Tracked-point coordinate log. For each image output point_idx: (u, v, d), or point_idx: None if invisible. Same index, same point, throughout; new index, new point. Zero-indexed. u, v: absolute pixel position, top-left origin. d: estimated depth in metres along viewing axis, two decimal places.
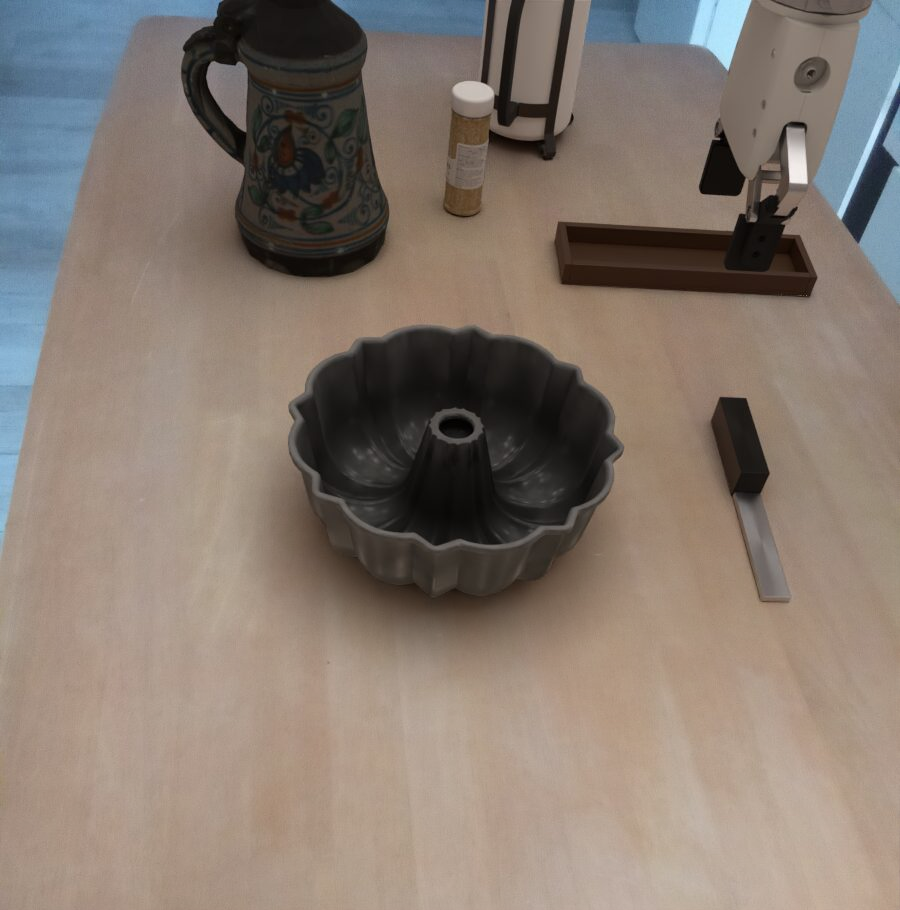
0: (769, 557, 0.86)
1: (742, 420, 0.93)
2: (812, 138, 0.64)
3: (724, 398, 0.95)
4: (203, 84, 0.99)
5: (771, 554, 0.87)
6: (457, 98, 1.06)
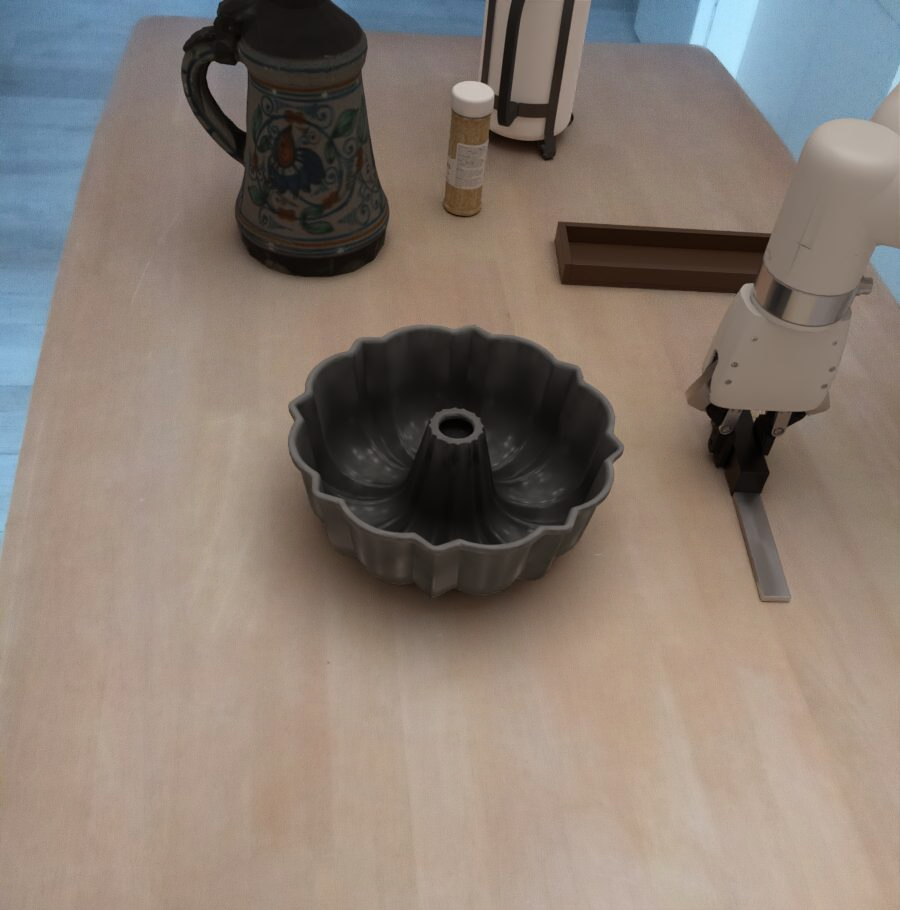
0: (769, 557, 0.86)
1: (742, 420, 0.93)
2: None
3: None
4: (203, 84, 0.99)
5: (771, 554, 0.87)
6: (457, 98, 1.06)
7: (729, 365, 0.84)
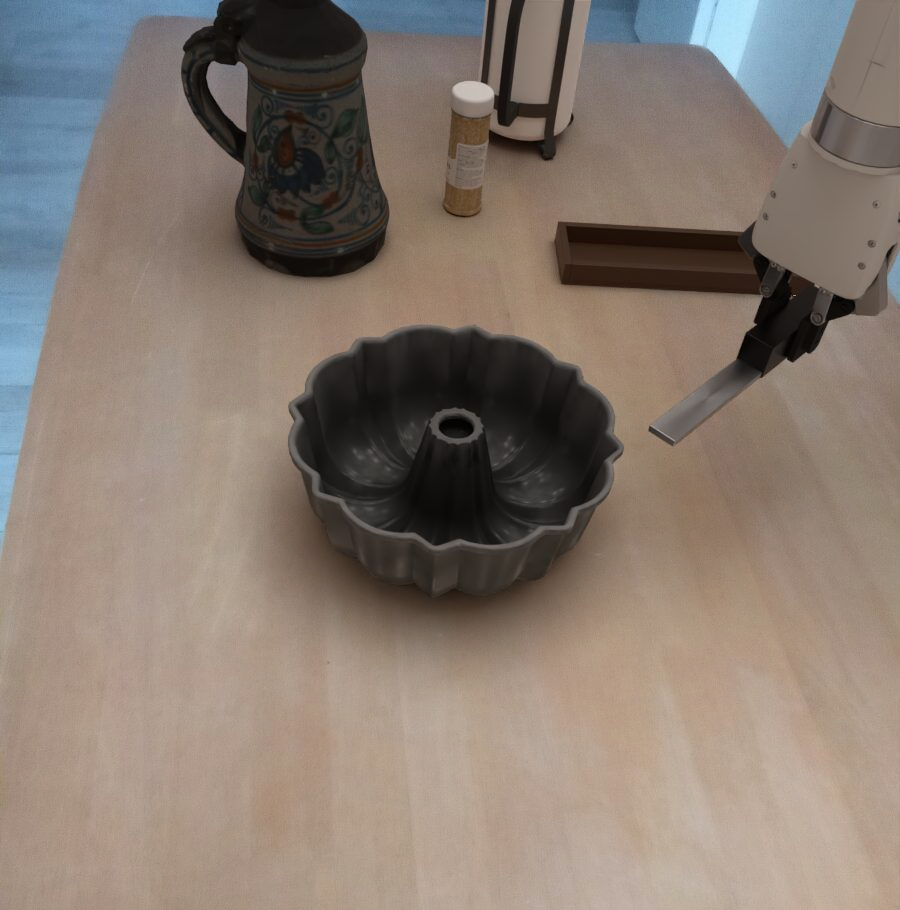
0: (698, 409, 0.78)
1: (806, 307, 0.83)
2: (897, 249, 0.75)
3: (813, 287, 0.85)
4: (203, 84, 0.99)
5: (703, 409, 0.78)
6: (457, 98, 1.06)
7: (769, 194, 0.76)
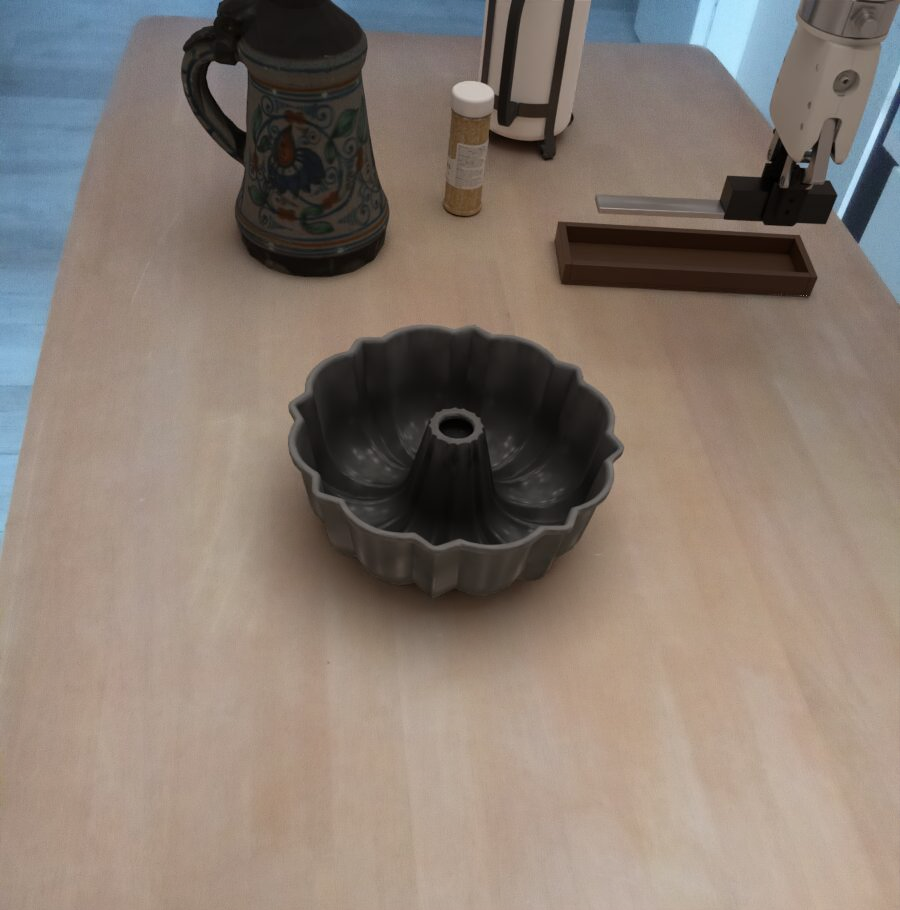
0: (643, 204, 0.95)
1: None
2: (845, 130, 0.85)
3: (829, 182, 0.96)
4: (203, 84, 0.99)
5: (647, 206, 0.95)
6: (457, 98, 1.06)
7: None
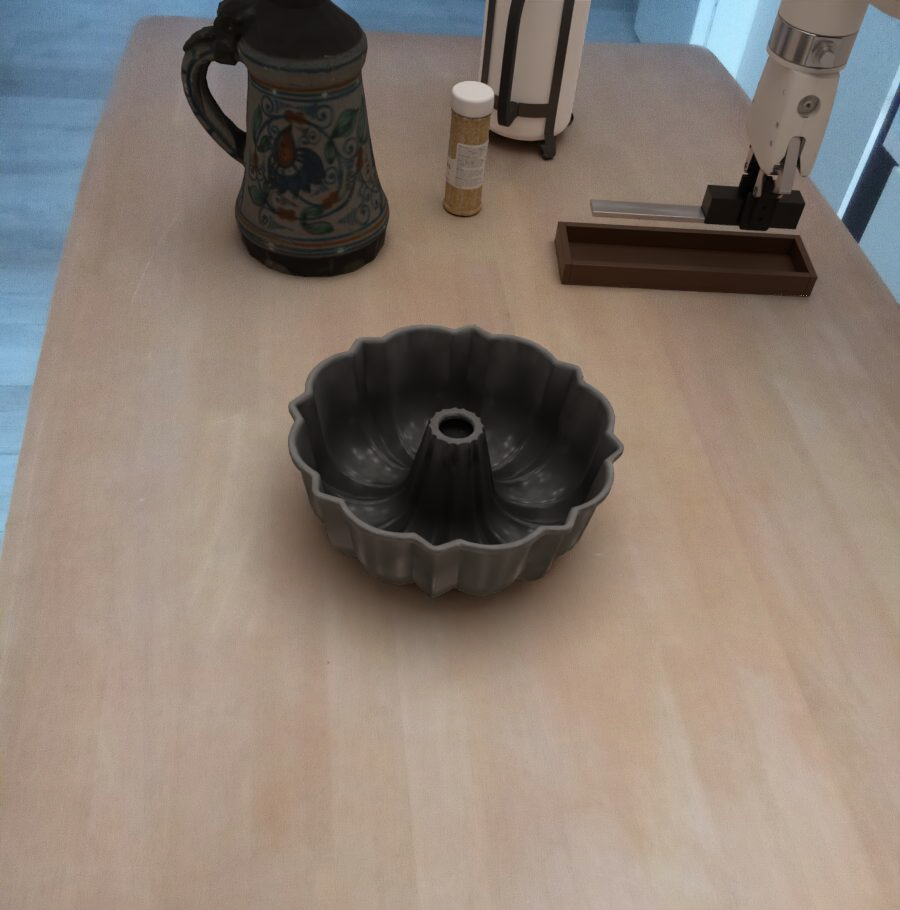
0: (632, 209, 1.07)
1: None
2: (809, 147, 0.97)
3: (798, 192, 1.07)
4: (203, 84, 0.99)
5: (636, 210, 1.07)
6: (457, 98, 1.06)
7: (758, 83, 1.02)
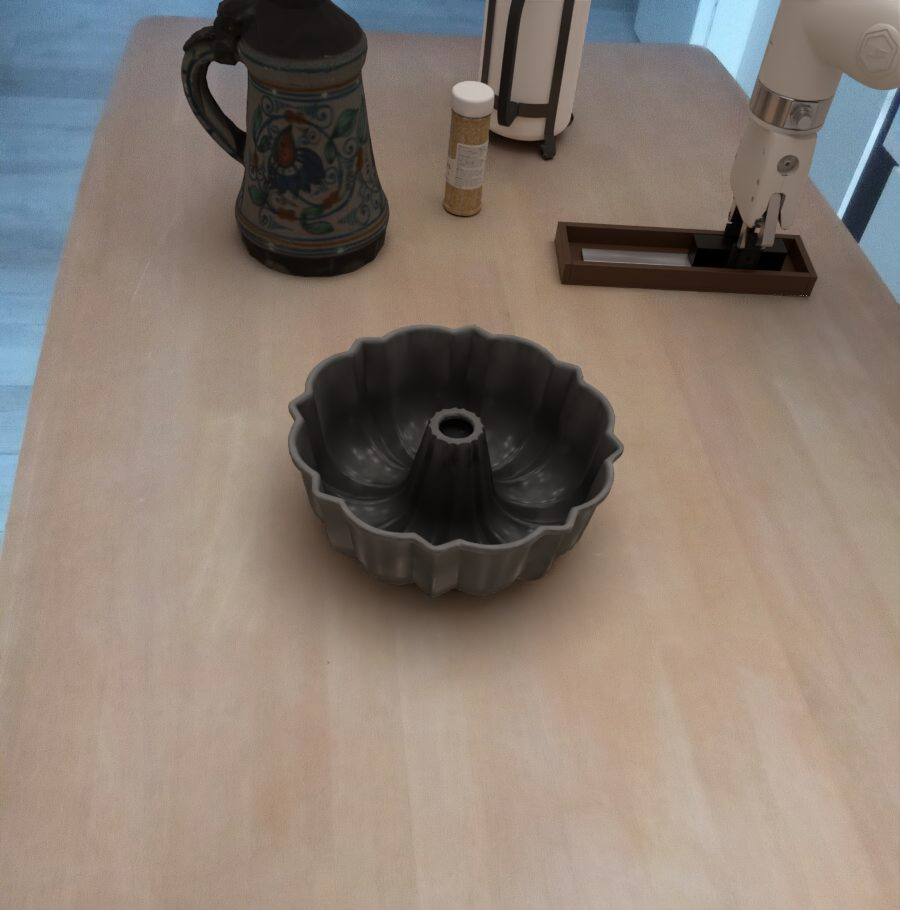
0: (621, 258, 1.12)
1: None
2: (789, 202, 1.02)
3: (781, 241, 1.12)
4: (203, 84, 0.99)
5: (625, 259, 1.11)
6: (457, 98, 1.06)
7: None
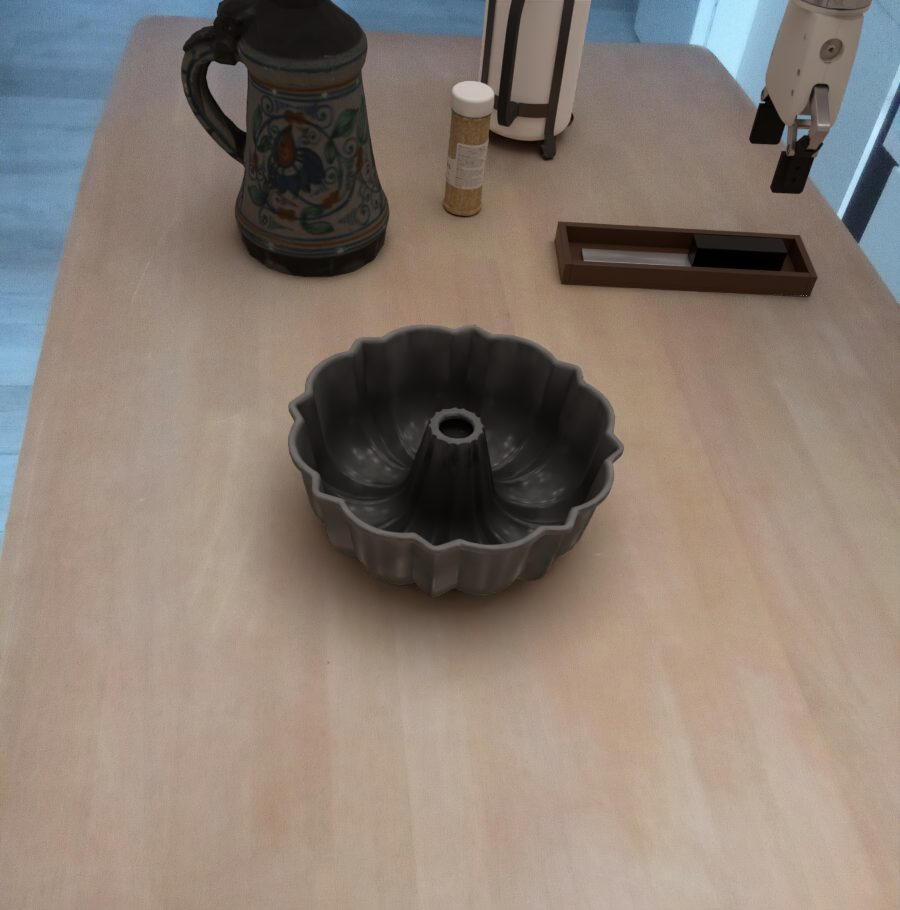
0: (621, 258, 1.12)
1: (757, 245, 1.11)
2: (832, 95, 0.93)
3: (781, 241, 1.12)
4: (203, 84, 0.99)
5: (625, 259, 1.11)
6: (457, 98, 1.06)
7: (777, 34, 0.98)
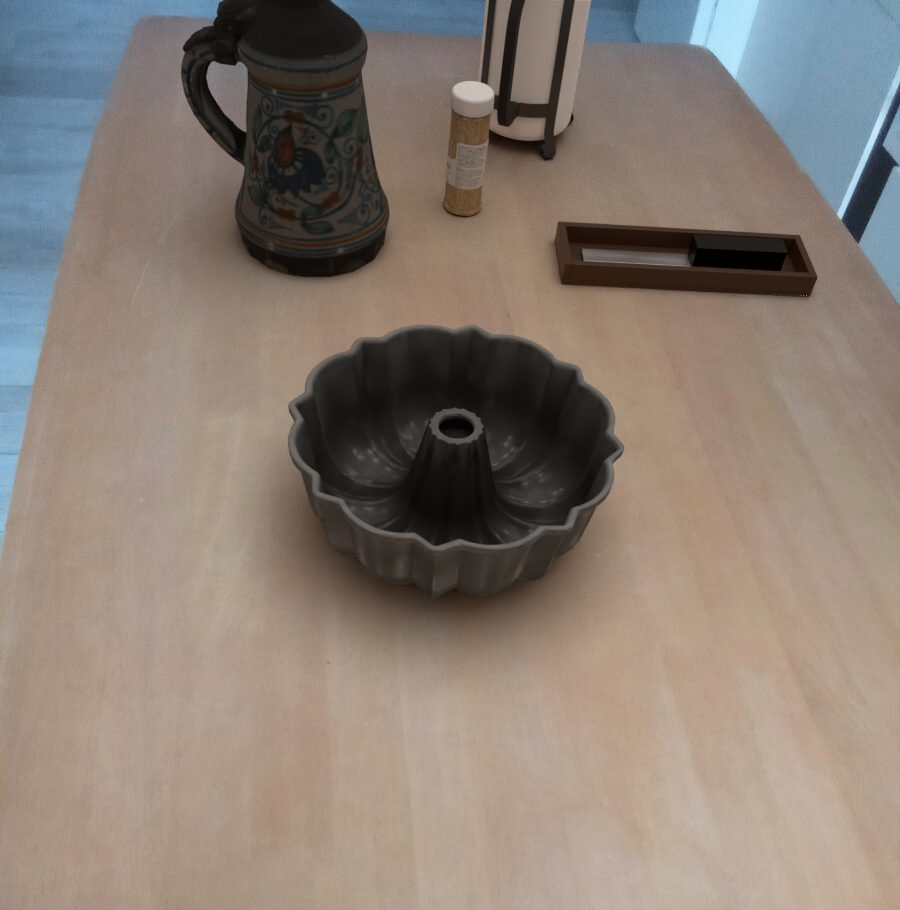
0: (621, 258, 1.12)
1: (757, 245, 1.11)
2: None
3: (781, 241, 1.12)
4: (203, 84, 0.99)
5: (625, 259, 1.11)
6: (457, 98, 1.06)
7: None
